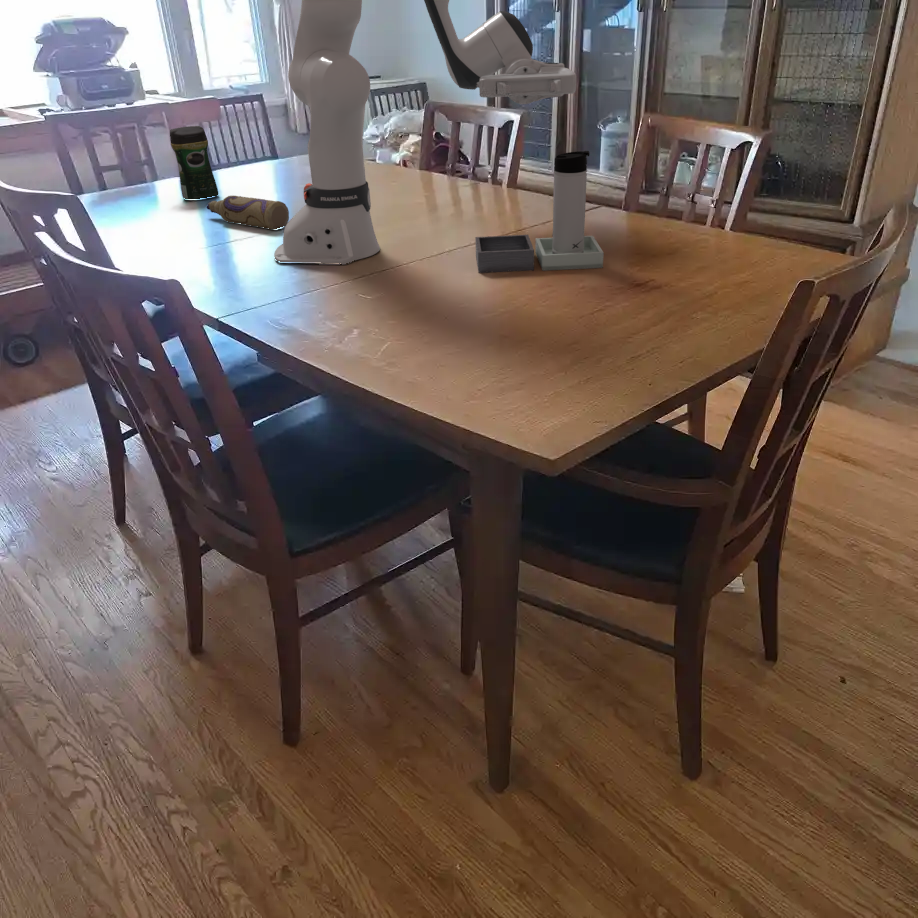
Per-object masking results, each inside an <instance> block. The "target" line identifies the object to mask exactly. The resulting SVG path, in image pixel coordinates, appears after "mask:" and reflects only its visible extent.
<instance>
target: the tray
mask: <svg viewBox="0 0 918 918" xmlns="http://www.w3.org/2000/svg"><path fill="white" fill-rule="evenodd" d="M552 243H553V237H536V238H535V249H534V254H535V255H536V258H537V260H538V263H539V265H540V268H541V271H544V272H545V271H561V270H562V271H563V270H582V269H584V270H585V269H586V270H587V269H602V268H604V251H603V250H602V248H601V246H600V245H599V243H598V241H597V239H596V238H595V237H594V235H584V247H583V248H584V252H583V253H564V254H552V248H553V247H552Z"/></svg>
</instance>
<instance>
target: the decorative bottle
mask: <svg viewBox="0 0 918 918" xmlns="http://www.w3.org/2000/svg"><path fill="white" fill-rule="evenodd" d="M206 209H207V210H208V211H210V212H211V213H214V214H217V215H219V216H220V218H222V219H223V220H224V221H225V222H226V221H228V222H227V223H229V222H234V223H241V224H246V225H245V226H248V225H251V226H250V227H252V226H258V227H257V228H259V227H264V228H269V229H268V230H271V229H277V228H280V227H283V226H286V224H287V223H288V222H289V221H290V211H289V208H288V206H287V204H286V203H284V202H283V201H279V200H270V199H265V198H264V199H263V198H257V197H247V196H241V195H228V196H226V197H224V198H223V199H221V200H218V201H217V200H212V201H209V202H208V203H207V205H206ZM234 223H233V224H234ZM264 228H263V229H264Z"/></svg>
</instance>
